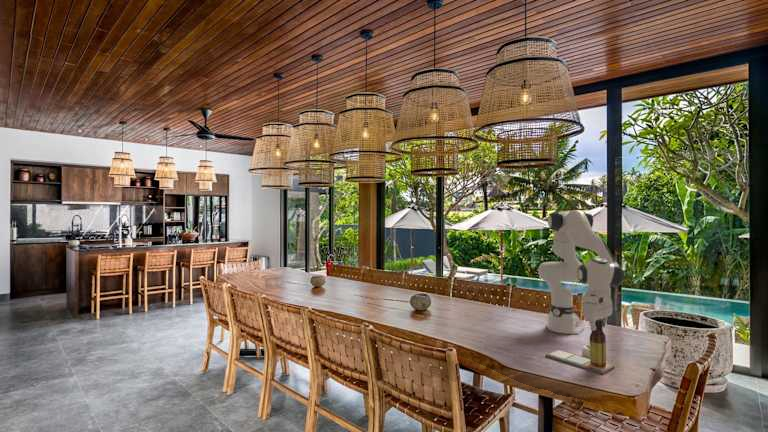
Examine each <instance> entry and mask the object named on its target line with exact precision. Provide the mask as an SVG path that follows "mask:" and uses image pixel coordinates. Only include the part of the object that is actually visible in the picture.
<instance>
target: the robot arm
mask: <svg viewBox="0 0 768 432" xmlns="http://www.w3.org/2000/svg"><path fill="white" fill-rule="evenodd" d="M547 225H548V228H549V229H550V230H551V231H553V232H554V233H553V243H552V245H553V246H552V251H553V253H554V254H555V255H556V256H557V257H559V258H561V259H563V261H545V262H542V263H540V264H539V266H538V269H537V273H538V275H539V277H540V279H541V280H544V282H546V284H547V285H548V287H549V290H550V296H551V297H550V298H551V304H550V307H549V308H550V312H549V313H548V317H547V324H545V327H546V328H547V329H548V330H549V331H551V332H555V333H559V334H570V335H571V334H572V335H579V334H581V332H583V331H584V330H585V327H584V326H583V325H581V319H580V317H579V316H578V315H577V314H576V313H575V310H577V306H576V305H574V304H573V301H574V299H573V298H574V295H573V292H572V290H570V289H569V288H568V287H566V286H563V285H562V282H570V283H576V282H577V283H578V282H580V283H581V284H583V285H587V291H586V293H585V294H584V295H582V300H581V301H582V302H584V303H583V305H582V306H583V307H582V308H583V309H582V312H583V313H582V314H583V319H584V321H586V322H588V323H589V326H590V330H591V331H592V330H593V331H595V330H596V326H595V323H596V320H599V319H602V320H603V323H602V328H604V327H606V326H607V321H608V318H609V316H612V315H613V301H612V299H611V298H612V297H611V296H612V294H611V293H612V289H611V287H612V288H617V287H619V286H620V285H622V284H623V283H624V281H625V272H624V270H623V268H622V267H621V266H620V264H619V263H618V262H617V261H616V258H615V257H614V255H613V254H612V252H611V249H610V248H609V246H608V245H607V243H606V241H605V240H604V238H603V237H601V236H599V235H598V234H597V233H596V232H595V231H594V230H593V225H594V218H593V214H592V213H591V212H590V211H586V210H578V209H573V210H564V211H553V212H551V213H550V214H549V215H548V218H547ZM576 247H579V248H582V249H585V250H589V251H591V252H594V253H596V254H597V255H598V256H599V257H593V258H590V259H589V260H588V262H586V263H582V262H581V261H580V260H579V259H578V256H577V255H576Z"/></svg>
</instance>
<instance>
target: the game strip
mask: <svg viewBox="0 0 768 432" xmlns="http://www.w3.org/2000/svg"><path fill="white" fill-rule="evenodd" d="M544 356H545V357H546V358H548V359H551V360H555V361H556V362H557V361H558V362H561V363H564V364H567V365H570V366H573V367H577V368H580V369H582V370H586V371H589V372H591V373H592V372H593V373H595V372H596V374H598V373H599V374H598V375H605V374H607V373H609V372H610V371H612V370H614V369H615V368H616V365H613V364H610V363H607V362H606V366H605V367H596V366H594V365H592V364H591V363H590V358H587V357H583V356H582V355H579V354H575V353H573V352H569V351H566V350H563V349H560V348H559V349H558V348H557V349H556V350H553V351H551V352H548V353H545V355H544Z"/></svg>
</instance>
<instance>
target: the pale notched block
mask: <svg viewBox="0 0 768 432" xmlns="http://www.w3.org/2000/svg"><path fill="white" fill-rule="evenodd" d="M581 356H583V357H587V358H590V345H585V346H582V347H581Z"/></svg>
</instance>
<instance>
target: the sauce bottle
mask: <svg viewBox="0 0 768 432" xmlns="http://www.w3.org/2000/svg"><path fill="white" fill-rule="evenodd" d="M602 323H603V320H602V319H599V320H596V323H595V326H596V330H595V331H593V330H591V332H590V334H589V346H590V363H591V364H592V365H594V366H596V367H605V366H606V363H607V340H606V333H605V332H604V331H603V328H604V327H602Z"/></svg>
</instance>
